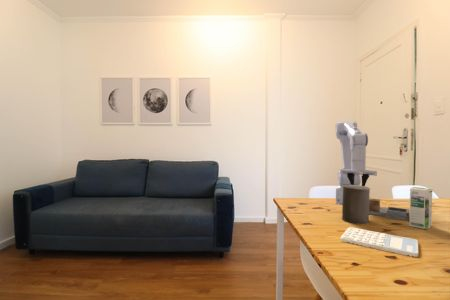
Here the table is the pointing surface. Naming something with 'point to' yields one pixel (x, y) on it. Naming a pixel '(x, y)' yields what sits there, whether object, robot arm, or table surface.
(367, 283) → the table surface
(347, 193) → the pillar candle
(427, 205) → the syrup box
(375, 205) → the walnut block
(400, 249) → the calculator
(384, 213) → the rail
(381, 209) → the rubber pad
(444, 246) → the table surface
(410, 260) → the table surface
